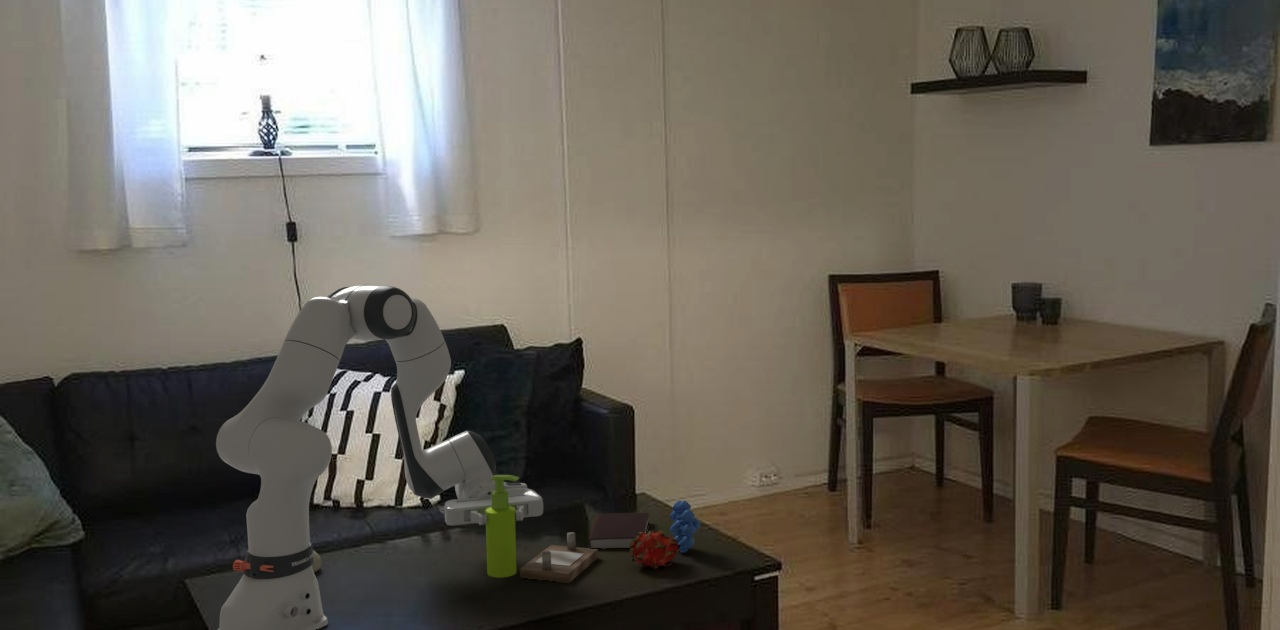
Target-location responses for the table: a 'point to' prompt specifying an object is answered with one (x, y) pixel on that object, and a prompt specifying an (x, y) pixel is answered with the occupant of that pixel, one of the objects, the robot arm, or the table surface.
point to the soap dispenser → (501, 531)
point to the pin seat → (560, 562)
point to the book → (617, 529)
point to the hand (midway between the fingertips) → (501, 518)
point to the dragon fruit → (653, 549)
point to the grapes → (683, 525)
